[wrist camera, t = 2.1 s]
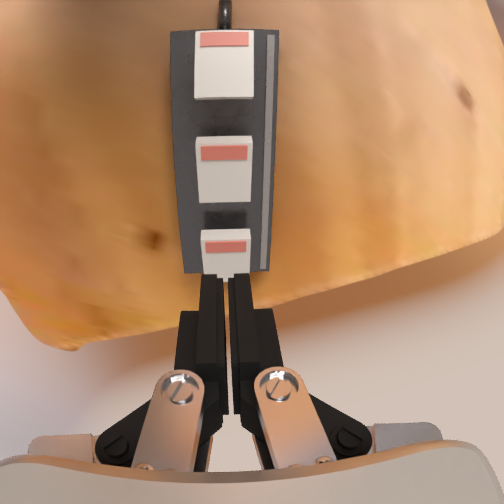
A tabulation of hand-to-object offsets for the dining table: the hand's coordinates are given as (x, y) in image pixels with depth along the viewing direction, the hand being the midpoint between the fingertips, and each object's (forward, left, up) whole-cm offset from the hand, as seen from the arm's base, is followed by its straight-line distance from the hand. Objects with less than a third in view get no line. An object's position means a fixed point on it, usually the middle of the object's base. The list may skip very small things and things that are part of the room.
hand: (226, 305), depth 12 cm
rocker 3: (+8, 0, -18) cm, 20 cm away
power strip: (-2, 0, -23) cm, 23 cm away
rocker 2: (0, 0, -18) cm, 18 cm away
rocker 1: (-8, 0, -18) cm, 20 cm away
